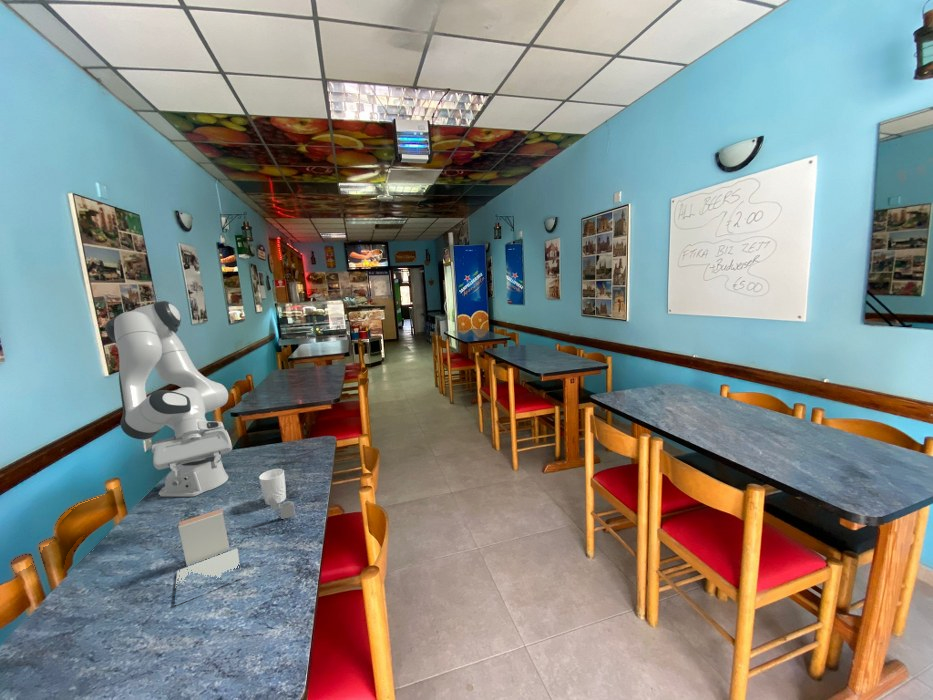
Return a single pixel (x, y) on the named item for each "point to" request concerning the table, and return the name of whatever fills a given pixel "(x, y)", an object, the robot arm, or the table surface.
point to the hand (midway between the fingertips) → (197, 472)
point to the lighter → (283, 508)
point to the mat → (212, 565)
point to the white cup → (273, 485)
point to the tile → (203, 536)
